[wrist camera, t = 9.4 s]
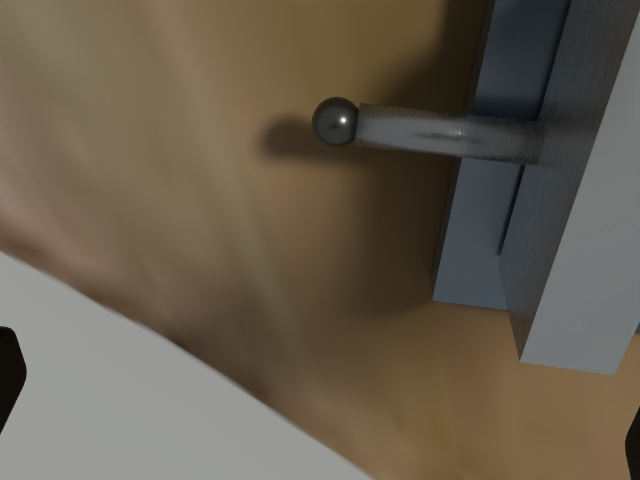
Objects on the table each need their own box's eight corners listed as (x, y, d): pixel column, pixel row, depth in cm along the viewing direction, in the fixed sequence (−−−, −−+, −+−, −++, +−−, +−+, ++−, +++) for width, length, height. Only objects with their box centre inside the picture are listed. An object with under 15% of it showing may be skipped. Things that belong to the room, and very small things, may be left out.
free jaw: (683, -31, 14) (790, 3, 10) (572, 273, 19) (614, 375, 15) (325, -60, 14) (295, -40, 11) (308, 239, 19) (282, 328, 15)
